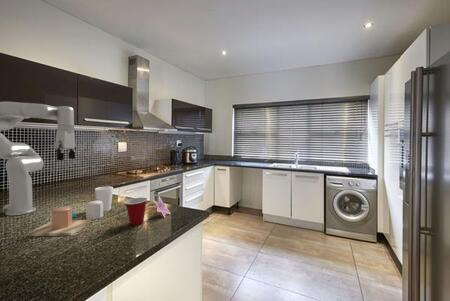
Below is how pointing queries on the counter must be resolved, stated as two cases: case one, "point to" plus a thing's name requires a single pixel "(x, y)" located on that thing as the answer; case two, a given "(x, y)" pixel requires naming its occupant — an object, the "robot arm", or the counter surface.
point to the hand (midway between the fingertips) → (66, 159)
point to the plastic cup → (136, 210)
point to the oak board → (70, 230)
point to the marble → (74, 214)
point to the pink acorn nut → (61, 217)
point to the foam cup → (104, 196)
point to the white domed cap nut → (94, 210)
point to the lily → (161, 207)
